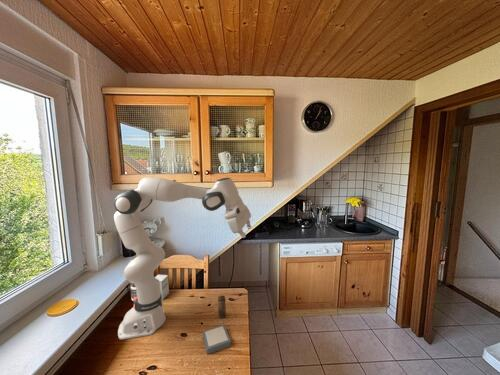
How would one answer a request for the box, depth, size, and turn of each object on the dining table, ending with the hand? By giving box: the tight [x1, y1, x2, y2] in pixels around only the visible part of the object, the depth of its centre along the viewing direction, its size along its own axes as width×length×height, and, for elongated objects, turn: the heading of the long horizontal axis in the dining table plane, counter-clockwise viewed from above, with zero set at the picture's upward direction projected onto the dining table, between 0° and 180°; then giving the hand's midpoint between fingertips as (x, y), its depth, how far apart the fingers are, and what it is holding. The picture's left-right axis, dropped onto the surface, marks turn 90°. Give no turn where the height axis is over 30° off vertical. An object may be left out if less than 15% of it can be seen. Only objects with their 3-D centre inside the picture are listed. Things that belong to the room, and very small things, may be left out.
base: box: [201, 324, 232, 355], centre depth 104 cm, size 11×11×3 cm
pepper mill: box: [217, 295, 227, 319], centre depth 120 cm, size 4×4×11 cm
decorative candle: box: [127, 258, 137, 301], centre depth 137 cm, size 9×9×25 cm
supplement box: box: [154, 274, 170, 301], centre depth 138 cm, size 7×7×13 cm
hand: (247, 232), depth 110 cm, fingers open, 8 cm apart
